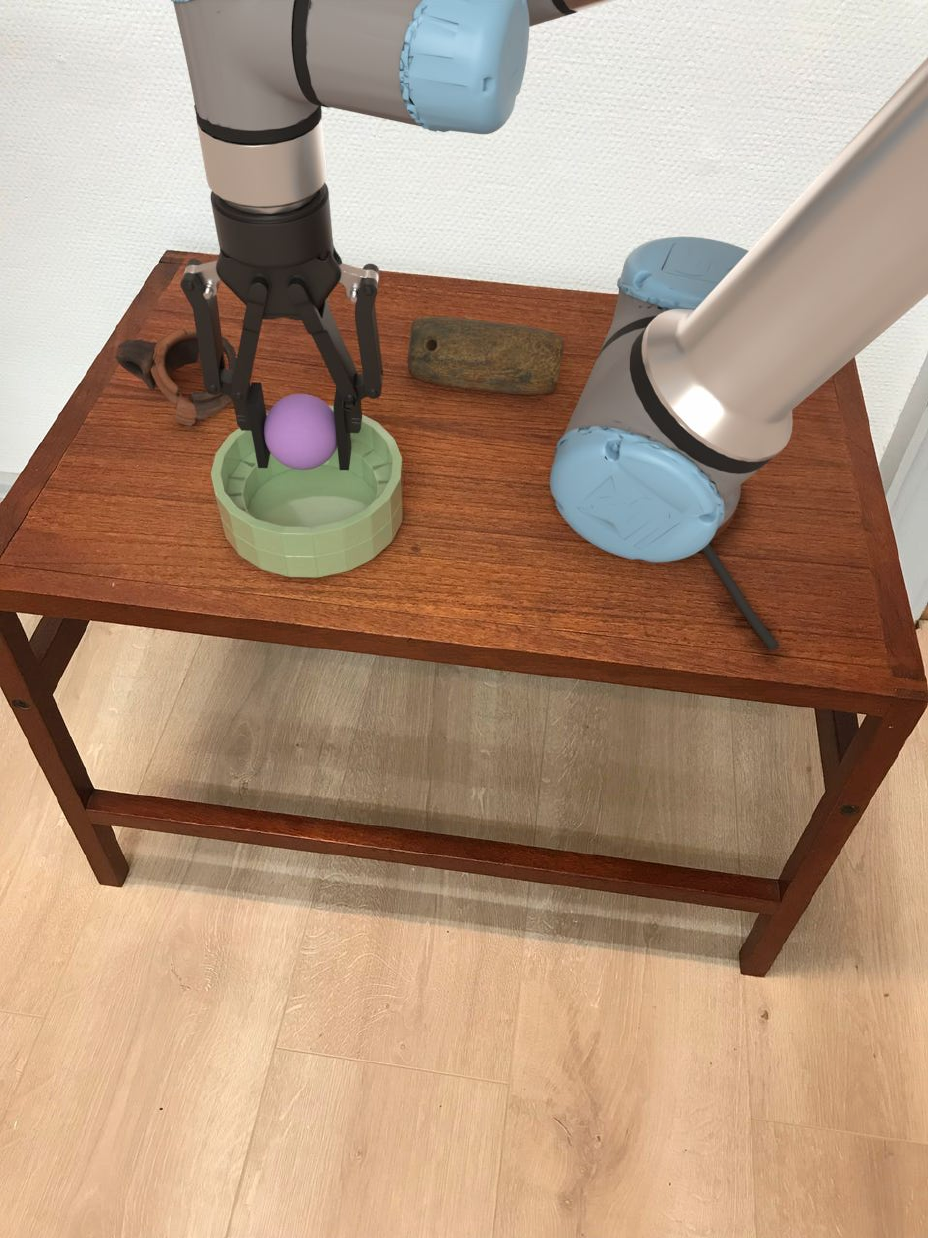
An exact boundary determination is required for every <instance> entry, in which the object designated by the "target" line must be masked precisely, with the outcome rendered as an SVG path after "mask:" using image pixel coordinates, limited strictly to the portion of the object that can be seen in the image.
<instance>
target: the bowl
mask: <svg viewBox="0 0 928 1238" xmlns="http://www.w3.org/2000/svg"><path fill="white" fill-rule="evenodd" d="M327 405H328V404H327ZM328 406H329V407H330V408H331V409H332V410H333V412H334V409H333V406H334V405H330V404H329V405H328ZM266 414H268V412H266ZM350 436H351V447H352V449H351V457H350V465H349V470H340V469H339V459H338V449H337V448H336V450H335V452H334V454H333V455H332V456H331V458H330V459H329V460H328V461H326V462H325V463H324V464H322V465H321V466H319V467H316V468H313V469H309V470H297V469H293V468H290V467H287V466H285V465H283V464H282V463H280V462H279V461H278V460H277V459H276V458H275V457H274V456H273V455H272V454H271V453H270V458H269V463H268V468H258V464H257V459H256V453H255V448H254V443H253V437H252V432H251V431H241V429H240V428H239V427H238V428H237V429H235V430H234V431H233V432H231V433H230V434H229V435H228V436H227V438H226V439H225V440H224V441H223V443H222V444H221V446H220V447H219V448H218V450H217V451H216V452H215V455H214V459H213V463H212V467H211V471H210V478H211V482H212V488H213V492H214V495H215V499H216V500H215V501H216V504H217V508H218V512H219V517H220V520H221V524H222V528H223V532H224V536H225V539H226V540H227V541H228V543H229V544H230V545H231V547H232V548H233V549H234V551H235V552H236V553H237V554H238V556H239V557H241V558H243V559H244V560H246V561H247V562H248V563H251V565H254V566H255V567H257V568H258V569H260V570H262V571H265V572H269V573H273V574H277V575H280V576H283V577H287V578H288V577H289V578H313V579H314V578H322V577H327V576H332V575H337V574H341V573H346V572H349V571H351V570H354V569H355V568H357V567H360V566H362V565H364V564H365V563H368V562H369V561H371V560H374V559H375V558H376V557H377V556H378V555H379V554H381V552H382V551H383V550H385V549H386V548H387V547H388V546H389V545H390V544H391V543H392V542H393V541H394V539H395V537H396V535H397V533H398V530H399V529H400V527H401V525H402V523H403V519H404V517H403V516H404V505H405V499H404V498H405V497H404V473H403V472H404V467H403V456H402V454H401V452H400V449H399V446H398V444H397V442H396V440H395V438H394V437H393V436H392V435H391V434H390V433H389V432H388V430H387V429H386V428H384V427H383V426H382V425H381V424H380V423H379V422H378V421H376V420H374V419H373V418H371V417H369V416H366V415H364V414H363V413H362V424H361V430H360V432H359V433H350Z"/></svg>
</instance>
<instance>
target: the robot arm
mask: <svg viewBox="0 0 928 1238" xmlns="http://www.w3.org/2000/svg"><path fill="white" fill-rule="evenodd" d="M614 1H616V0H170V2H172V4H173V8H174V12H175V16H176V21H177V26H178V29H179V34H180V38H181V43H182V47H183V53H184V56H185V61H186V66H187V71H188V76H189V81H190V86H191V91H192V96H193V97H192V98H193V102H194V106H193V108H194V111H195V119H196V125H197V130H198V137H199V143H200V148H201V155H202V160H203V166H204V167H203V168H204V172H205V178H206V182H207V185H208V188H209V189H210V204H211V209H212V214H213V220H214V225H215V230H216V237H217V241H218V247H219V253H218V258H217V260H212V261H207V262H205V263H203V262H202V261H201V260H199V259H197V258H190V259H188V261H187V263H186V265H185V268H184V271H183V274H182V277H181V280H180V289H181V290H182V292H183V294H184V296H185V297H186V299H187V301H188V303H189V305H190V307H191V308H192V313H193V320H194V325H195V326H194V327H195V328H196V333H197V340H198V347H199V353H200V360H201V364H200V366H201V373H202V380H203V386H204V387H203V388H204V391H207V392H208V393H209V394H211V395H217V394H219V393H223V394H226V395H228V396H229V397H230V398H231V399H232V400H233V402H232V403H233V409H234V414H235V419H236V423H237V427H238V428H240V429H241V431H251V432H252V437H253V443H254V448H255V453H256V459H257V464H258V468H268V463H269V458H270V453H271V452H270V451H269V449H268V447H267V445H266V442H265V438H264V423H265V420H266V417H267V414H266V413H267V409H266V402H265V397H264V392H263V391H264V390H263V384H262V381H261V382H260V381H257V382H256V381H252V382H251V378H252V374H253V369H254V365H255V359H256V354H257V350H258V344H259V340H260V334H261V330H262V325H263V321H264V320H277V319H282V318H285V319H290V320H294V321H301V322H302V324H303V326H304V328H305V330H306V332H307V334H308V335H311V337H312V340H313V342H314V343H315V345H316V348H317V349H318V352H319V354H320V356H321V358H322V361H323V362H324V364H325V367H326V368H327V370H328V373H329V375H330V377H331V379H332V381H333V383H334V385H335V392H334V400H333V405H332V406H333V409H334V419H335V429H336V439H337V449H338V459H339V469H340V470H349V465H350V457H351V449H352V447H351V436H350V433H359V432H360V430H361V424H362V414H363V407H362V400H363V399H366V398H369V399H372V400H377V399H379V398H380V397H381V396H382V390H383V381H384V367H383V360H382V359H383V358H382V351H381V343H380V335H379V328H378V327H379V326H378V319H377V309H376V299H377V295H378V290H379V281H380V268H379V267H378V266H377V265H376V264H374V263H367V264H365V265H363V267H362V268H360V267H357V266H353V265H350V264H347V263H344V262H343V260H342V258H341V255H340V254H339V253H338V251H337V250H336V247H335V245H334V238H333V229H332V228H333V227H332V226H333V225H332V213H331V203H330V191H329V187H328V185H327V184H326V182H327V176H328V169H327V158H326V147H325V145H326V144H325V137H324V136H325V135H324V127H323V115H322V114H323V112H322V111H323V110H322V107H323V108H327V109H330V108H333V109H337V110H341V111H347V112H351V113H356V114H361V115H364V116H370V117H374V118H379V119H383V120H389V121H393V122H398V123H401V124H407V125H412V126H416V127H421V128H422V129H423V130H424V129H425V130H427V131H430V132H441V133H447V132H458V133H466V134H474V135H475V134H476V135H490V134H493V133H496V132H497V131H498V130H500V129H501V128H502V127H503V126H505V124H506V123H507V122H508V121H509V119H510V117H511V115H512V113H513V111H514V109H515V105H516V100H517V96H518V95H519V94H520V92H521V88H522V85H523V80H524V76H525V71H526V65H527V60H528V52H529V43H530V42H529V40H530V39H529V38H530V27H533V26H538V25H540V24H544V23H547V22H550V21H554V20H557V19H560V18H563V17H566V16H571V15H573V14H576V13H578V12H581V11H585V10H588V9H591V8H595V7H598V6H601V5H605V4H608V3H611V2H614ZM220 281H221V282H222V283H223V284H224V285H225V286H226V287H227V288H228V289H229V290H230V291H231V292H232V293H233V294H234V295H235V296H236V297H237V298H238V299H239V300H240V301H241V302H242V304H244V305H245V311H244V315H243V316H244V317H243V321H242V328H241V329H242V330H241V333H240V339H239V345H238V350H237V354H236V358H237V360H236V366H235V371H230V370H229V369H227V367H226V360H225V352H224V350H223V342H222V337H223V333H222V326H221V319H220V310H219V303H218V295H217V294H218V292H219V288H220V284H221V283H220ZM338 284H340V285H342V286H343V287H344V289H345V294H346V297H347V299H348V300H349V301H350V303H351V304H355V305H354V322H355V329H356V336H357V344H358V351H359V357H360V364H361V372H362V373H359V372H358V370H357V368H356V365H355V364H354V361H353V359H352V357H351V354H350V352H349V350H348V348H347V346H346V345H347V344H346V343H345V341H344V339H343V336H342V334H341V331H340V329H339V327H338V324H337V323H336V321H335V318H334V316H333V314H332V312H331V308H330V302H329V299H328V298H329V296H330V295H331V294H332V293H333V291H334V290H335V288H336V287H337V285H338ZM616 286H617V288H618V294H617V300H616V305H615V309H614V313H613V316H612V317H613V318H612V321H611V325H610V327H609V330H608V332H607V334H606V337H605V339H604V341H603V344H602V347H601V349H600V351H599V352H598V353H599V354H598V356H597V358H596V360H595V362H594V365H593V367H592V369H591V372H590V374H589V376H588V378H587V380H586V383H585V385H584V388H583V390H582V392H581V394H580V396H579V399H578V401H577V404H576V406H575V408H574V411H573V413H572V415H571V417H570V420H569V421H568V424H567V426H566V428H565V431H564V433H563V435H562V436H561V437H560V439H559V440H558V441H557V443H556V445H555V449H554V459H553V462H552V466H551V470H550V474H549V488H550V493H551V496H552V497H553V499H554V500H555V507H556V510H557V511H558V513H559V515H560V516H561V517H562V518H563V520H564V521H565V522H566V523H567V524H568V525H569V526H570V528H571V529H572V530H573V531H574V532H575V533H577V534H578V536H580V537H582V538H583V539H584V540H585V541H587V542H589V543H590V544H591V545H593V546H595V547H597V548H599V549H600V550H603V551H605V552H607V553H609V554H611V555H614V556H618V557H621V558H624V559H628V560H632V561H634V560H635V561H636V560H641V561H645V562H648V563H668V562H669V563H670V562H675V561H680V560H684V559H686V558H689V557H691V556H693V555H696V554H697V553H699V552H700V551H701V552H702V553H703V556H705V558H706V559H707V561H708V562H709V564H710V565H711V567H712V569H713V570H714V571H715V573H716V575H717V576H718V577H719V580H720V581H721V582H722V584H723V585H724V587H725V589H726V590H727V592H728V593H729V595H730V596H731V598H732V599H733V601H734V603H735V604H736V606H737V608H738V609H739V610H740V612H741V614H742V616H744V617H745V619H746V621H747V623H749V624H748V625H750V626H751V628H752V629H753V631H754V632H755V633H756V635H757V636H758V637H759V639H761V641H762V642H763V644H764V645H765V646H766V647H767V649H769V650H768V651H770V652H774V651H775V650H777V649H778V648H779V647H780V644H779V642H778V641H777V640H776V639H775V637H774V636H773V635H772V634H771V632H770V631H769V629H767V627H766V626H765V625H764V623H763V622H762V620H761V619H760V618H759V617H758V615H757V614H756V612H755V611H754V609H753V607H752V606H751V605H750V603H749V602H748V600H747V599H746V597H745V596H744V594H743V592H742V590H741V589H740V588H739V586H738V585H737V583H736V581H735V580H734V578H733V577H732V575H731V573H730V572H729V571H728V570H727V568H726V566H725V565H724V563H723V561H722V559H720V557H719V556H718V554H717V553H716V551H715V549H714V548H713V547H712V545H711V544H710V542H712V541H713V540H715V539H717V538H718V537H720V536H721V534H722V533H724V532H725V531H726V529H727V528H728V527H729V526H730V525H731V523H732V521H733V518H734V516H735V513H736V510H737V508H738V504H739V502H740V498H741V493H742V484H744V482H746V481H747V480H748V479H749V478H751V477H752V476H753V475H754V474H755V473H757V472H758V471H759V470H761V468H763V467H764V466H765V465H767V464H768V463H769V462H770V461H772V459H774V458H775V457H776V456H777V455H779V454H780V453H781V452H782V451H783V450H784V449H785V448H786V447H787V445H788V444H789V441H790V440H791V437H792V433H793V425H794V424H793V423H794V421H793V410H794V409H795V408H796V407H797V406H799V405H800V404H801V403H802V402H804V400H806V399H807V398H808V397H810V395H811V394H813V393H814V392H815V391H816V390H818V389H819V388H820V387H821V386H822V385H823V384H825V383H826V382H827V381H828V380H829V379H830V378H831V377H833V376H834V375H835V374H837V372H839V371H840V370H841V369H842V368H843V367H844V366H846V365H847V364H848V363H850V361H852V360H853V359H854V358H855V357H856V356H857V355H859V354H860V353H861V352H863V350H864V349H865V348H867V347H868V346H870V344H872V343H873V342H874V341H875V340H876V339H878V338H879V337H880V336H881V335H882V334H884V333H885V332H886V331H887V330H888V329H889V328H890V327H892V326H893V325H894V324H895V323H896V322H898V321H899V320H900V319H901V318H902V317H903V316H904V315H905V314H907V313H908V312H909V311H910V310H911V309H913V308H914V307H915V306H917V304H918V303H920V302H921V301H922V300H924V298H926V297H927V296H928V57H926V58H925V60H924V61H923V62H922V63H921V64H920V65H919V66H918V67H917V68H916V69H915V71H914V72H913V73H911V75H910V76H909V77H907V79H906V80H905V82H903V83H902V85H901V86H899V88H898V89H897V90H896V91H895V92H894V93H893V94H892V96H890V97H889V99H888V100H887V101H886V102H885V103H884V104H883V105H882V106H881V107H880V108H879V110H877V112H876V113H874V115H873V116H872V117H871V118H870V119H869V120H868V121H867V122H866V123H865V124H864V126H862V128H861V129H860V130H859V131H858V132H857V133H856V135H855V136H853V138H851V140H850V141H849V142H848V143H847V144H846V146H845V147H844V148H843V149H842V150H841V151H840V152H839V153H838V154H837V155H836V156H835V157H834V159H833V160H831V162H829V163H828V165H827V166H826V167H825V168H824V169H823V170H822V171H821V173H819V174H818V176H817V177H816V178H815V179H814V180H813V181H812V182H811V183H810V185H808V187H806V189H805V190H804V191H803V192H802V193H801V194H800V195H799V196H798V197H797V198H796V199H795V201H793V203H792V204H791V205H790V206H789V207H788V208H787V209H786V210H785V211H784V212H783V214H781V216H780V217H779V218H778V219H777V220H776V221H775V222H774V223H773V224H772V226H771V227H770V228H769V229H768V230H767V231H766V232H765V233H764V234H763V235H762V237H761V238H760V239H758V240H757V242H756V243H754V245H753V246H752V247H751V248H750V249H749V250H748V249H746V248H743V247H740V246H738V245H735V244H733V243H729V242H725V241H721V240H718V239H717V240H716V239H713V238H705V237H699V236H670V237H662V238H661V237H660V238H657V239H656V238H655V239H653V240H650V241H647V242H644V243H642V244H640V245H639V246H636V247H635V248H634V249H633V250H632V251H631V252H630V253H629V254H628V255H627V257H626V258H625V260H624V263H623V267H622V271H621V274H620V277H618V279H617V281H616Z"/></svg>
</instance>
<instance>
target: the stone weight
mask: <svg viewBox="0 0 928 1238" xmlns="http://www.w3.org/2000/svg"><path fill="white" fill-rule="evenodd" d="M410 325H411V326H410V333H409V341H408V350H407V369H408V373H409V375H410V377H412V378H414V379H416V380H418V381H420V382H421V381H422V382H425V383H429V384H433V385H438V386H445V387H450V388H457V389H465V390H470V391H479V392H490V393H496V394H497V393H498V394H508V395H522V396H523V395H524V396H527V395H528V396H533V395H535V396H536V395H547V394H548V395H549V394H552V393H554V392H555V391H556V389H557V385H558V381H559V376H560V369H561V366H562V359H563V355H564V348H565V340H564V338H563V337H562V336H561V335H559V334H558V333H555V332H553V331H549V330H545V329H541V328H536V327H532V326H525V325H519V324H512V323H504V322H497V321H489V320H480V319H473V318H465V317H453V316H438V315H437V316H425V317H418V318H415V319H414V320H413V321H412V322H411V324H410Z"/></svg>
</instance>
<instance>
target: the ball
mask: <svg viewBox="0 0 928 1238" xmlns="http://www.w3.org/2000/svg"><path fill="white" fill-rule="evenodd" d="M267 413H268V414H267V417H266V420H265V423H264V438H265V442H266V445H267V447H268V449H269V451H270V452H271V454H272V455H273V456H274V457H275V458H276V459H277V460H278V461H279V462H280V463H282V464H283V465H285V466H287V467H290V468H293V469H297V470H309V469H313V468H316V467H319V466H321V465H322V464H324V463H325V462H326V461H328V460H329V459H330V458H331V456H332V455H333V454H334V452H335V450H336V448H337V439H336V429H335V419H334V412H333V410H332V409H331V408H330V407H329V406H328V403H327V402H325V400H322V399H321V398H319V397H317V396H315V395H311V394H309V393H293V394H289V395H286V396H284V397H282V398H281V399H279V400H278V401H276V402H275V403H274V404H273V405H272V407H271V408H270V409H269V410H268V412H267Z"/></svg>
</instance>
